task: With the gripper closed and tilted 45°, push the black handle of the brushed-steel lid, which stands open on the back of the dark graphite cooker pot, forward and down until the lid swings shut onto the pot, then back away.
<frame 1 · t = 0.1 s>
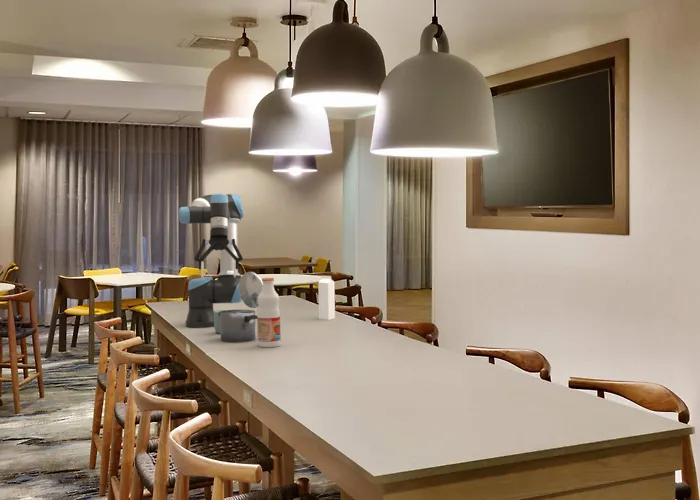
hand: (218, 277, 324), 28 cm above the table, tool tilted 20°, fingers open, 13 cm apart
cup: (222, 333, 350), on the table
fruit juice: (269, 346, 316), on the table
lid: (253, 289, 338), point 21 cm above the table, hinge at 85.0°
cooker pot: (238, 339, 332), on the table
milk: (326, 319, 389), on the table
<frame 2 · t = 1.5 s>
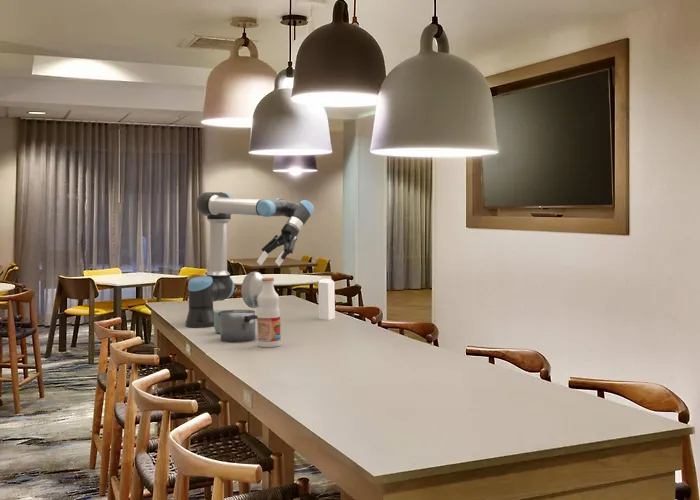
hand: (267, 264, 344), 32 cm above the table, tool tilted 45°, fingers open, 13 cm apart
lid: (256, 289, 339), point 21 cm above the table, hinge at 95.2°
everything else where it was.
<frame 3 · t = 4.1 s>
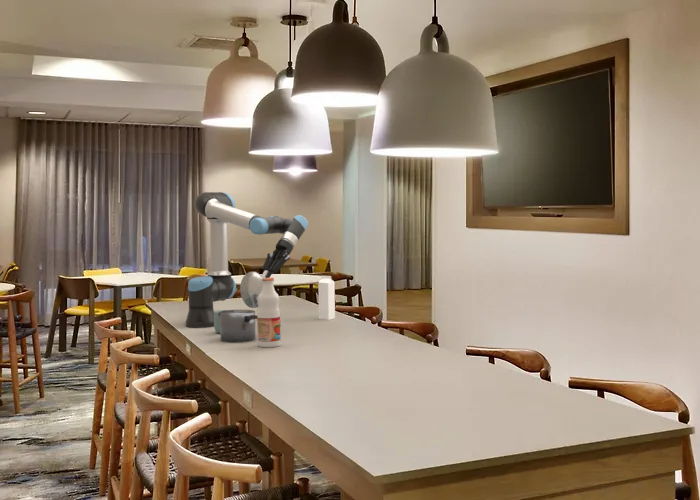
hand: (260, 283, 340), 23 cm above the table, tool tilted 45°, fingers closed
lid: (254, 289, 339), point 21 cm above the table, hinge at 90.5°, touching gripper
everything else where it was.
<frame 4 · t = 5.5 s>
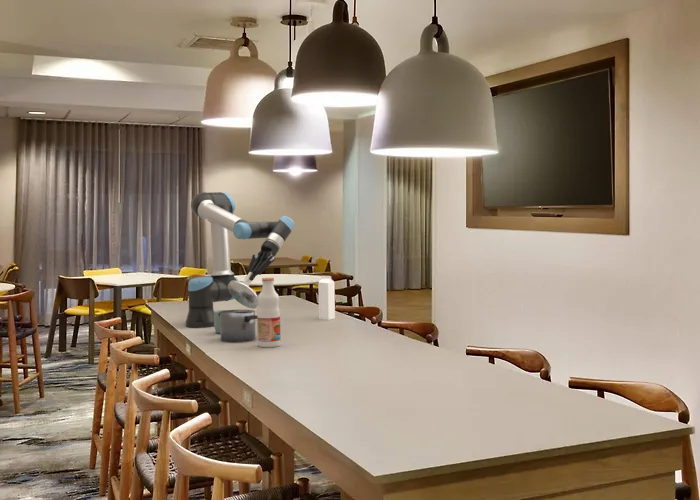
hand: (244, 285, 334), 23 cm above the table, tool tilted 45°, fingers closed
lid: (244, 292, 334), point 20 cm above the table, hinge at 51.0°, touching gripper
everything else where it was.
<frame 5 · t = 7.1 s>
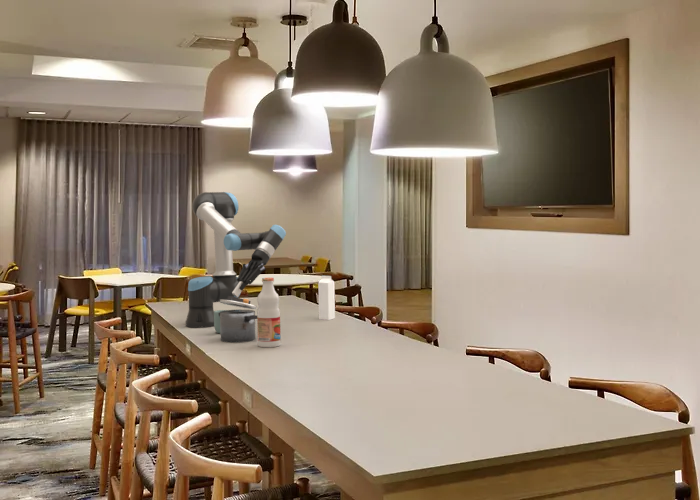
hand: (234, 294, 330), 19 cm above the table, tool tilted 45°, fingers closed
lid: (238, 302, 332), point 16 cm above the table, hinge at 16.5°, touching gripper
everything else where it was.
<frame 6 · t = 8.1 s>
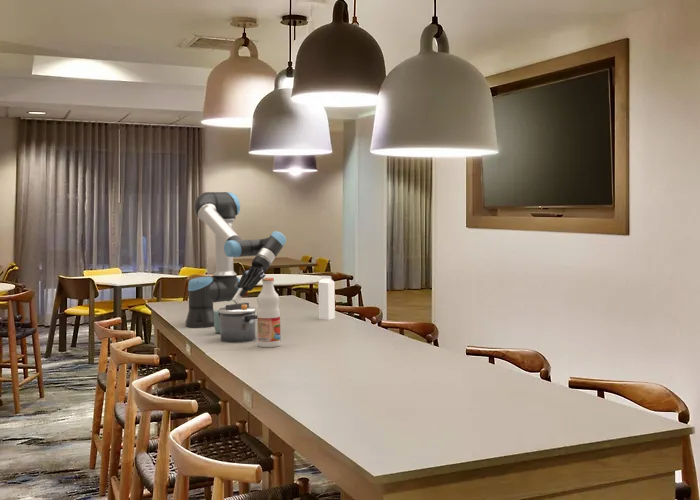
hand: (234, 301, 330), 17 cm above the table, tool tilted 45°, fingers closed
lid: (237, 307, 332), point 14 cm above the table, hinge at -0.2°, touching gripper
everything else where it was.
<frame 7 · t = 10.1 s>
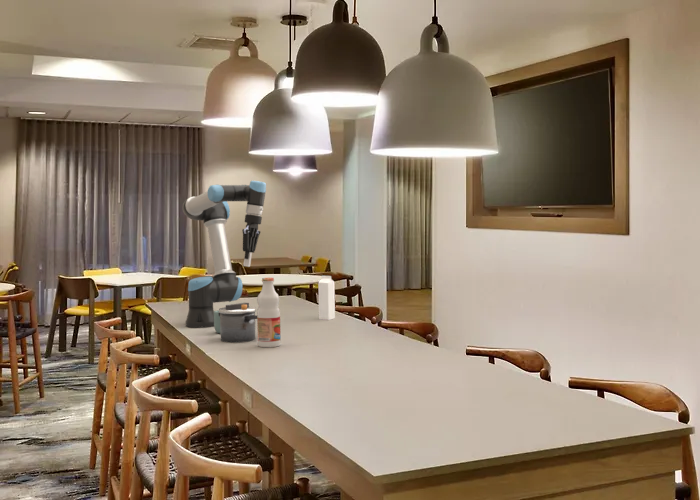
hand: (246, 266, 349), 30 cm above the table, tool pointing down, fingers closed
lid: (237, 307, 332), point 14 cm above the table, hinge at -0.2°
everything else where it was.
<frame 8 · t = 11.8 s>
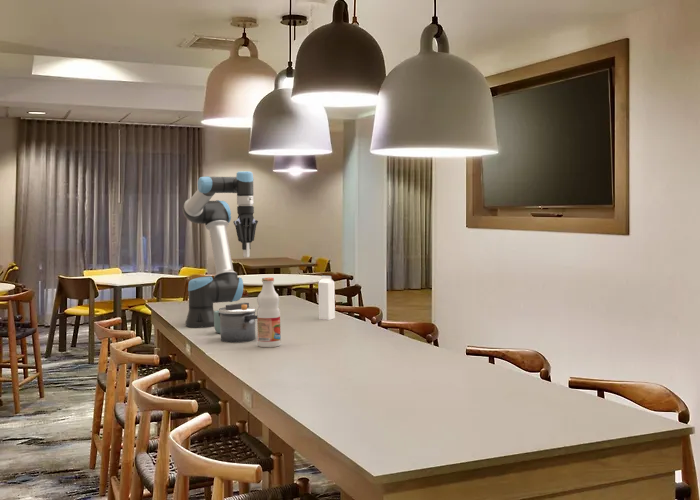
hand: (246, 256, 352), 34 cm above the table, tool pointing down, fingers closed
nothing on the table moved.
at the end: lid at +0° (first picture: +85°); the gripper is holding nothing; cup moved 0.2 cm from its start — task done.
